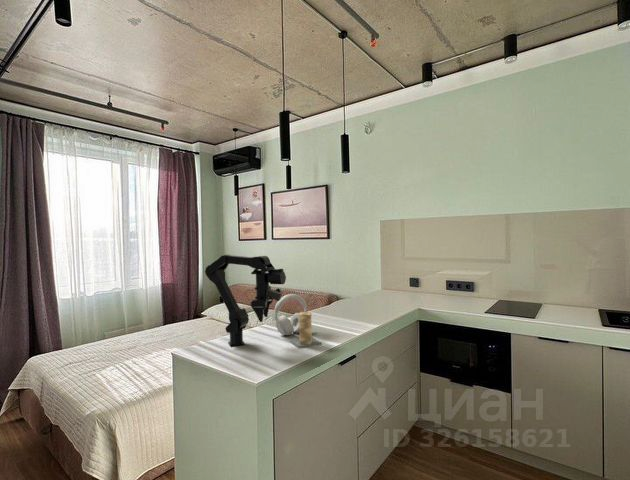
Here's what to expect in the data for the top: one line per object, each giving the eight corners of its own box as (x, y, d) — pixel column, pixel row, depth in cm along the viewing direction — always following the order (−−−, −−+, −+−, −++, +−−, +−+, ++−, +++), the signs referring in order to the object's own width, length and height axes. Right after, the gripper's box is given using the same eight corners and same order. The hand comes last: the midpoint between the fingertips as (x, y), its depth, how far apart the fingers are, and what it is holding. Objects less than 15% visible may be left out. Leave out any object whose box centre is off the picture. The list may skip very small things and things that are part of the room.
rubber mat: (289, 341, 151) (289, 339, 151) (310, 337, 155) (310, 336, 155) (298, 348, 141) (298, 346, 141) (321, 344, 146) (321, 342, 146)
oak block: (299, 344, 144) (298, 314, 144) (301, 340, 149) (300, 312, 149) (310, 344, 143) (310, 314, 143) (311, 340, 148) (311, 312, 148)
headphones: (280, 340, 153) (279, 297, 153) (270, 335, 161) (269, 295, 162) (312, 332, 164) (311, 293, 164) (301, 328, 172) (300, 291, 173)
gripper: (276, 286, 134) (277, 324, 134) (284, 281, 153) (285, 314, 153) (249, 287, 135) (251, 324, 135) (260, 281, 154) (261, 314, 154)
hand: (263, 319), depth 144 cm, fingers open, 9 cm apart
